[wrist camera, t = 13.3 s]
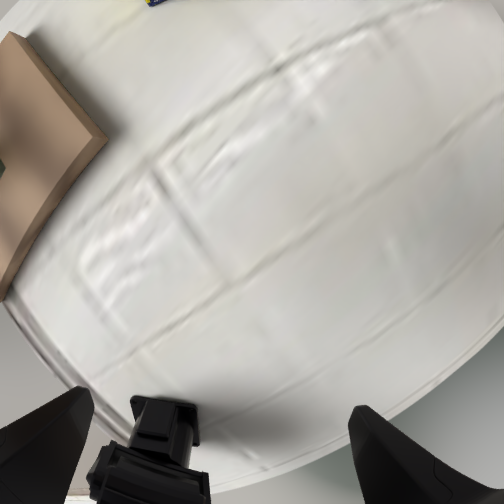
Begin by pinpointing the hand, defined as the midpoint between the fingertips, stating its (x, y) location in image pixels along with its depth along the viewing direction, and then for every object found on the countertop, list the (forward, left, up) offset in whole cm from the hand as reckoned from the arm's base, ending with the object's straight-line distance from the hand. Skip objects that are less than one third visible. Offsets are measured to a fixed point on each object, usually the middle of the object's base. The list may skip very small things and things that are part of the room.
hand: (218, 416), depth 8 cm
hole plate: (+8, +22, -13) cm, 27 cm away
